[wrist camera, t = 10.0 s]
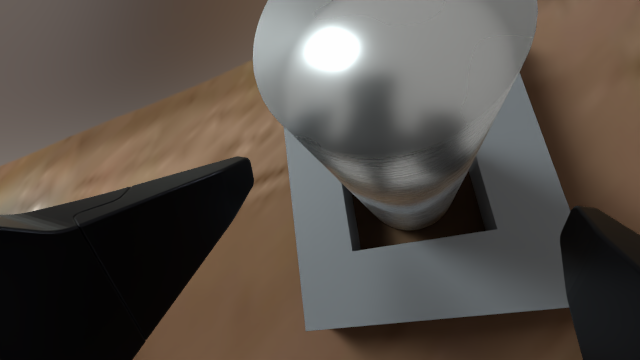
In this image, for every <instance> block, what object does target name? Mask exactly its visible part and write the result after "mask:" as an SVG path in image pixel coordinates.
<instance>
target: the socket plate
mask: <svg viewBox="0 0 640 360" xmlns="http://www.w3.org/2000/svg"><path fill="white" fill-rule="evenodd" d="M284 133H285V142H286V151H287V161H288V170H289V179H290V188H291V198H292V207H293V216H294V225H295V235H296V244H297V253H298V262H299V272H300V281H301V290H302V299H303V309H304V318H305V327H306V331H312V330H323V329H335V328H346V327H357V326H368V325H379V324H390V323H402V322H413V321H424V320H435V319H446V318H457V317H468V316H480V315H491V314H502V313H513V312H524V311H535V310H547V309H558V308H569V305H568V300H567V296H566V289H565V281H564V273H563V264H562V256H561V248H560V235H561V231H562V229H563V227H564V225H565V223H566V220H567V218H568V216H569V214H570V209H569V206H568V203H567V201H566V198H565V195H564V192H563V190H562V187H561V184H560V181H559V179H558V176H557V173H556V171H555V168H554V165H553V162H552V160H551V157H550V154H549V151H548V149H547V146H546V143H545V141H544V138H543V135H542V132H541V130H540V127H539V124H538V122H537V119H536V116H535V113H534V111H533V108H532V105H531V102H530V100H529V97H528V94H527V92H526V89H525V86H524V83H523V81H522V78H521V75H520V73H518V75H517V77H516V79H515V81H514V83H513V85H512V87H511V89H510V91H509V93H508V95H507V97H506V99H505V100H504V102H503V104H502V106H501V108H500V110H499V112H498V114H497V116H496V118H495V120H494V122H493V124H492V126H491V128H490V130H489V131H488V133H487V135H486V137H485V139H484V141H483V143H482V145H481V147H480V149H479V151H478V153H477V155H476V157H475V159H474V161H473V162H472V164H471V166H470V168H469V174H470V177H471V181H472V185H473V188H474V192H475V195H476V199H477V202H478V206H479V209H480V213H481V216H482V220H483V223H484V227H485V231H483V232H476V233H470V234H463V235H456V236H450V237H443V238H437V239H430V240H424V241H417V242H411V243H404V244H398V245H391V246H384V247H378V248H371V249H365V250H361V246H360V240H359V234H358V228H357V222H356V216H355V210H354V204H353V198H352V193H351V192H350V191H349V190H348V189H347V188H346V187H345V186H344V185H343V184H342V183H341V182H340V181H339V180H338V179H337V178H336V177H335V176H334V175H333V174H332V173H331V172H330V171H329V170H328V169H327V168H326V167H325V166H324V165H323V164H322V163H321V162H320V161H319V160H318V159H316V158H315V157H314V156H313V155H312V154H311V153H310V152H309V151H308V150H307V149H306V148H305V147H304V146H303V145H302V144H301V143H300V142H299V141H298V140H297V139H296V138H295V137H294V136H293V135H292V134H291V133H290V132H289V131H288V130H287V129H286V128H285V127H284Z"/></svg>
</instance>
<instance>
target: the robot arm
mask: <svg viewBox="0 0 640 360" xmlns="http://www.w3.org/2000/svg"><path fill="white" fill-rule="evenodd" d="M253 184H254V178H253V172H252V167H251V162H250V160H249V159H248V158H245V157H233V158H230V159H226V160H223V161H219V162H216V163H212V164H208V165H205V166H201V167H198V168H194V169H191V170H187V171H184V172H180V173H177V174H173V175H169V176H166V177H162V178H159V179H155V180H152V181H148V182H145V183H141V184H138V185H134V186H132V187H127V188H123V189H120V190H116V191H112V192H109V193H105V194H101V195H98V196H94V197H90V198H86V199H82V200H78V201H74V202H69V203H65V204H61V205H57V206H53V207H49V208H45V209H40V210H36V211H32V212H27V213H22V214H14V215H0V360H132V359H133V358H134V357H135V355H136V354H137V353H138V351H139V350H140V348H141V347H142V346H143V344H144V343H145V340H146V339H147V338H148V337H149V336H150V334H151V333H152V332H153V330H154V329H155V327H156V326H157V325H158V323H159V322H160V321H161V319H162V318H163V316H164V315H165V314H166V312H167V311H168V309H169V308H170V307H171V305H172V304H173V303H174V301H175V300H176V298H177V297H178V296H179V294H180V293H181V292H182V290H183V289H184V287H185V286H186V285H187V283H188V282H189V281H190V279H191V278H192V276H193V275H194V274H195V272H196V271H197V270H198V268H199V267H200V265H201V264H202V263H203V261H204V260H205V258H206V257H207V256H208V254H209V253H210V252H211V250H212V249H213V247H214V246H215V245H216V243H217V242H218V241H219V239H220V238H221V236H222V235H223V234H224V232H225V231H226V230H227V228H228V227H229V225H230V224H231V222H232V221H233V219H234V218H235V216H236V215H237V213H238V211H239V209H240V208H241V206H242V204H243V202H244V201H245V199H246V197H247V195H248V194H249V192H250V190H251V188H252V187H253ZM560 248H561V256H562V264H563V273H564V281H565V289H566V296H567V300H568V305H569V309H570V312H571V316H572V320H573V324H574V327H575V331H576V335H577V339H578V342H579V346H580V350H581V354H582V357H583V360H640V235H639V234H637V233H635V232H634V231H632V230H630V229H629V228H627V227H626V226H624V225H622V224H621V223H619V222H618V221H616V220H614V219H613V218H611V217H610V216H608V215H606V214H605V213H603V212H602V211H600V210H598V209H596V208H591V207H584V206H575V207H573V209H572V210H571V211H570V214H569V216H568V218H567V220H566V223H565V225H564V227H563V229H562V231H561V235H560Z"/></svg>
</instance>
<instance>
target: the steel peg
mask: <svg viewBox="0 0 640 360" xmlns="http://www.w3.org/2000/svg"><path fill="white" fill-rule="evenodd" d="M537 14H538V7H537V0H268V2H267V4H266V6H265V8H264V10H263V13H262V15H261V17H260V20H259V24H258V27H257V30H256V35H255V40H254V47H253V66H254V75H255V78H256V82H257V86H258V89H259V91H260V94H261V96H262V99H263V101H264V102H265V104H266V105H267V107H268V109H269V110H270V112H271V113H272V114H273V115H274V117H275V118H276V119H277V120H278V121H279V122H280V123H281V124H282V125H283V126H284V127H285V128H286V129H287V130H288V131H289V132H290V133H291V134H292V135H293V136H294V137H295V138H296V139H297V140H298V141H299V142H300V143H301V144H302V145H303V146H304V147H305V148H306V149H307V150H308V151H309V152H310V153H311V154H312V155H313V156H314V157H315V158H316V159H318V160H319V161H320V162H321V163H322V164H323V165H324V166H325V167H326V168H327V169H328V170H329V171H330V172H331V173H332V174H333V175H334V176H335V177H336V178H337V179H338V180H339V181H340V182H341V183H342V184H343V185H344V186H345V187H346V188H347V189H348V190H349V191H350V192H351V193H352V194H353V195H354V196H356V197H357V198H358V199H359V200H360V201H361V202H362V203H363V204H364V205H365V206H366V207H367V208H368V209H369V210H370V211H371V212H372V213H373V214H374V215H375V216H376V217H377V218H378V219H379V220H381V221H382V222H383V223H385V224H387V225H389V226H391V227H393V228H396V229H401V230H418V229H422V228H426V227H428V226H430V225H432V224H434V223H435V222H437V221H438V220H439V219H440V218H442V217H443V215H444V214H445V213H446V212H447V210H448V209H449V207H450V205H451V203H452V201H453V199H454V197H455V195H456V193H457V191H458V190H459V188H460V186H461V184H462V182H463V180H464V178H465V176H466V174H467V172H468V170H469V168H470V166H471V164H472V162H473V161H474V159H475V157H476V155H477V153H478V151H479V149H480V147H481V145H482V143H483V141H484V139H485V137H486V135H487V133H488V131H489V130H490V128H491V126H492V124H493V122H494V120H495V118H496V116H497V114H498V112H499V110H500V108H501V106H502V104H503V102H504V100H505V99H506V97H507V95H508V93H509V91H510V89H511V87H512V85H513V83H514V81H515V79H516V77H517V75H518V73H519V71H520V70H521V68H522V65H523V63H524V61H525V59H526V57H527V55H528V53H529V51H530V48H531V45H532V41H533V38H534V34H535V31H536V23H537Z"/></svg>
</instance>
